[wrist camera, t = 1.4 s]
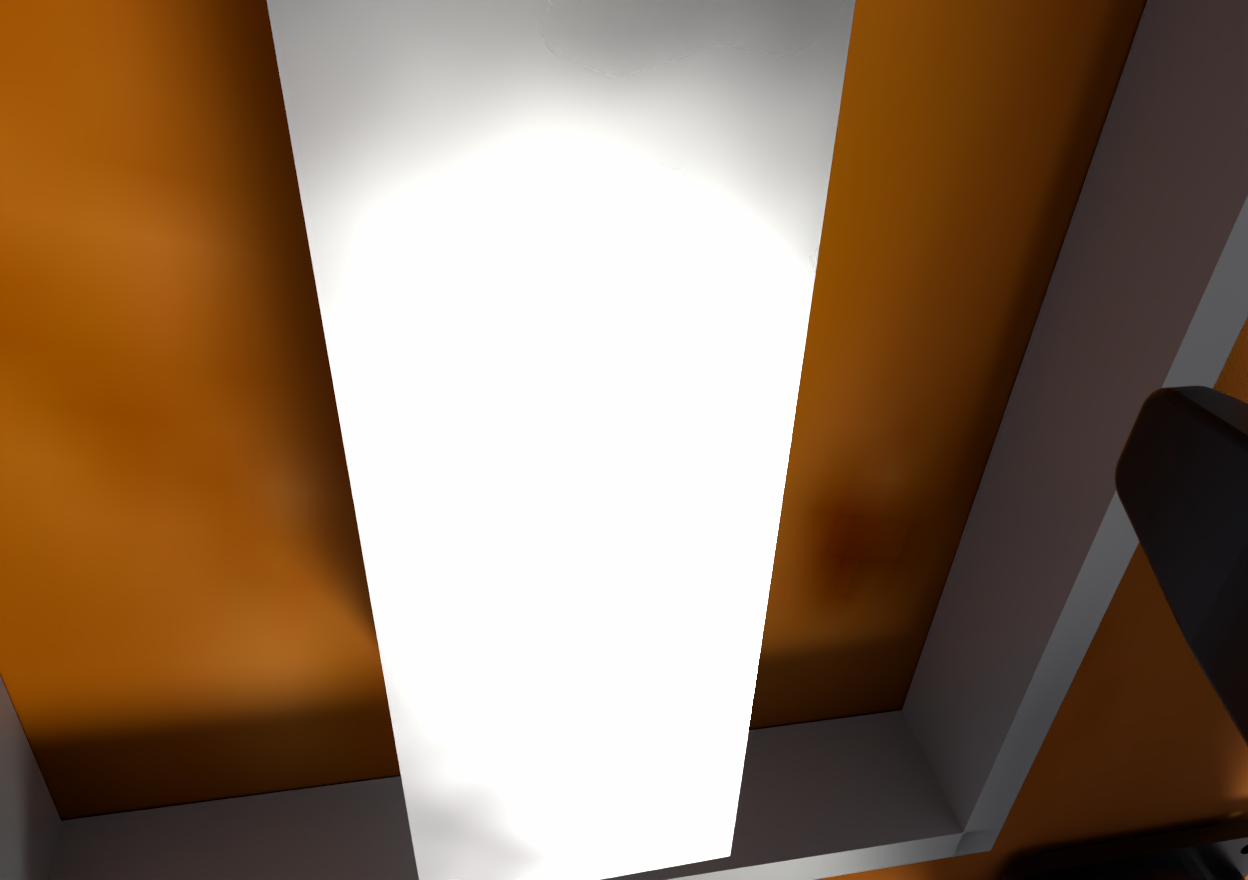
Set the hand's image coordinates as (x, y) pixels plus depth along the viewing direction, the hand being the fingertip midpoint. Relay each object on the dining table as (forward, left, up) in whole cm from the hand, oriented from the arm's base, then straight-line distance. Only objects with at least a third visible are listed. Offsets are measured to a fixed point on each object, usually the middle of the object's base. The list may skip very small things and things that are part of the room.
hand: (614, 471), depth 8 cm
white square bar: (0, 0, -5) cm, 5 cm away
